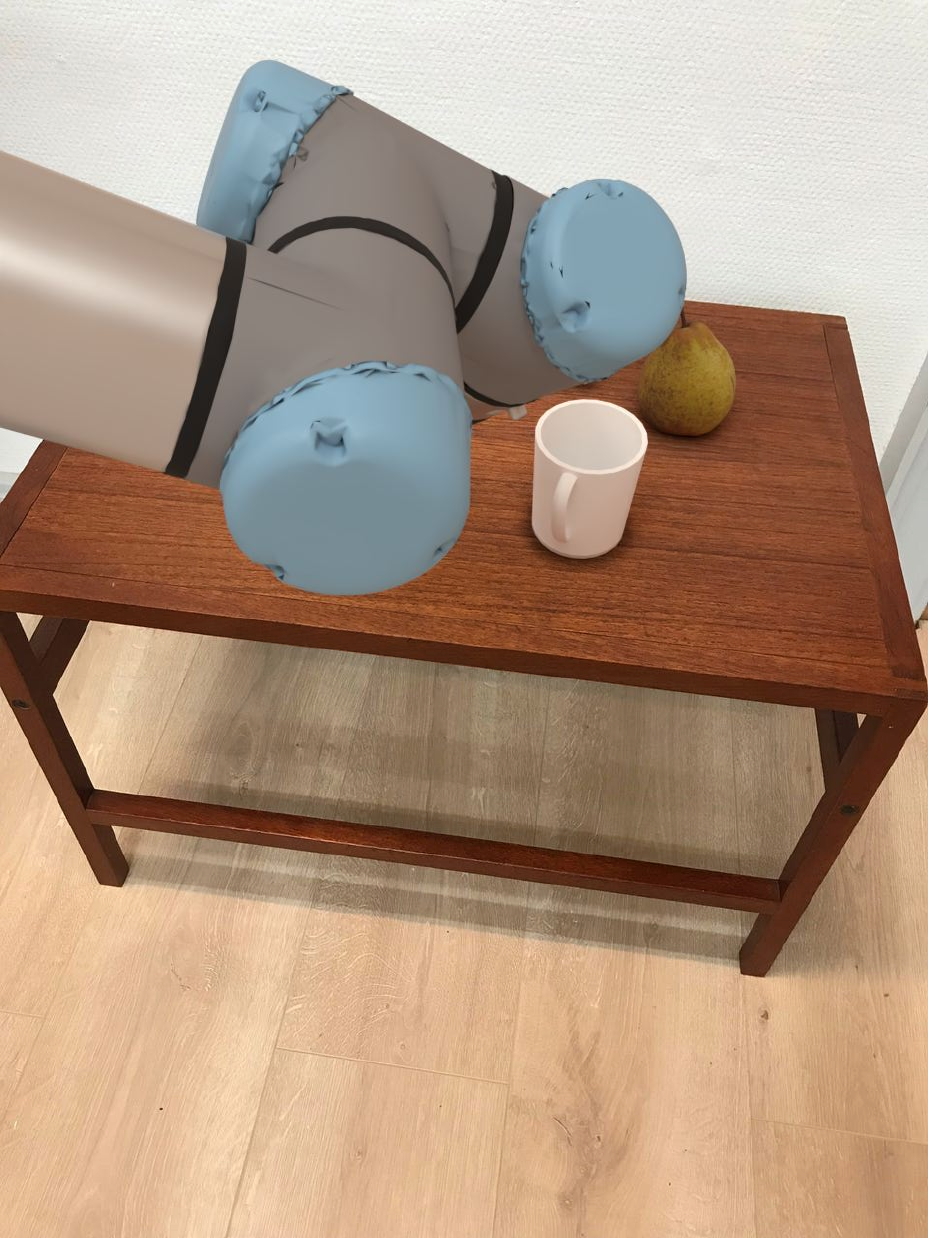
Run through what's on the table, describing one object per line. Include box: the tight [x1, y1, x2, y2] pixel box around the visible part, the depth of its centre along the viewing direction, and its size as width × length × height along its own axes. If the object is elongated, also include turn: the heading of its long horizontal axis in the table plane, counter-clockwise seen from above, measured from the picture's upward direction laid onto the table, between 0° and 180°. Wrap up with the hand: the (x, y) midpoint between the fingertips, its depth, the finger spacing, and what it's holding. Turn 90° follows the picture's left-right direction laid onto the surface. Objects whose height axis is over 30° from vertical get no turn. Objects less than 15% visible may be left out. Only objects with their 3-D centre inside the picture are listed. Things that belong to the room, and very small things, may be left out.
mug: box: [531, 398, 649, 560], centre depth 81 cm, size 11×9×10 cm
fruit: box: [636, 306, 737, 437], centre depth 90 cm, size 9×9×12 cm
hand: (331, 423), depth 74 cm, fingers closed on beer can, 5 cm apart
